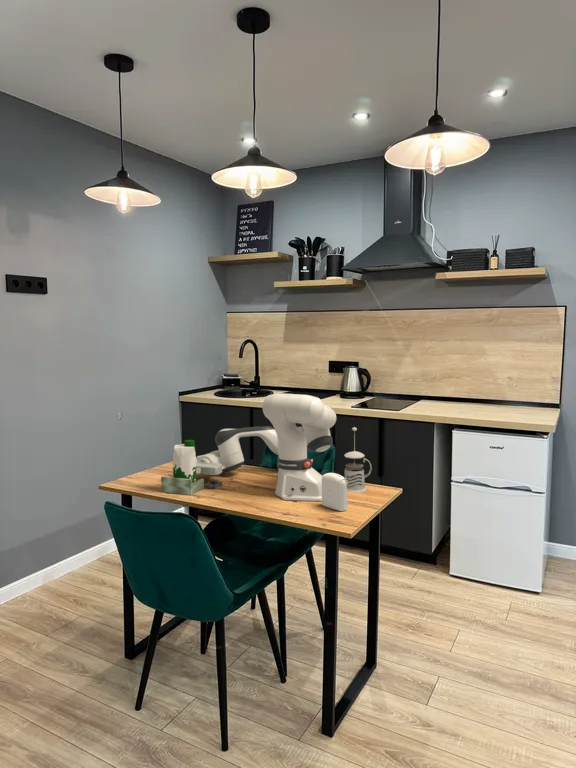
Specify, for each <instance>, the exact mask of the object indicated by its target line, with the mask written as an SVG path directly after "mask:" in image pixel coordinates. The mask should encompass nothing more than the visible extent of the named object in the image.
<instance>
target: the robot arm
mask: <svg viewBox="0 0 576 768" xmlns="http://www.w3.org/2000/svg"><path fill="white" fill-rule="evenodd" d="M261 407H262V412H263V415H264V417H265V418H266V419H268V420H269V421H270V423H271V425H272V426H273V427H272V426H268V425H265V426H264V425H263V426H252V427H242V428H241V427H240V428H223V429H220V430H219V431H217V433H216V434H215V436H214V440H215V444H216V446H217V448H218V449H217V450H213V451H211V452H209V453H205V454H202V455H196V475H201V476H204V477H206V476H219V475H221V474H222V473H223V472H224V473H229V472H233V471H235V470H237V469H239V468H241V467H243V465H244V463H245V458H244V454H243V451H242V448H241V444H240V438H245V437H259V438H261V440H263V441H264V443H265V444H266V445H267V446H268V448H269V450H270V451H271V452H273V453H274V454H275V455H278V457H277V465H276V466H277V473H278V474H277V482H276V483H277V484H276V487H275V491H274V494H275V496H277V497H280V499H282V500H284V501H306V502H308V501H309V502H322V477H323V474H321V473H320V472H318V471H317V470H316V469H315V468H313V467H312V466H313V460H314V459H313V458H312V459H310V458H309V457H308V450H311V451H312V452H315V453H322V452H326V451H328V450H329V449H330V448H331V447H332V445H333V436H331V430H330V429H331V428H332V427H334V425H335V424H336V422H337V415H336V412H335V410H334V409H333V408H332V407H330V406H329V405H327V404H326V403H323V401H322V400H321V399H320V398H319V397H318V396H313V395H309V394H299V393H298V394H297V393H296V394H294V393H282V392H281V393H279V392H278V393H274V394H273V393H272V394H269V395H267V396H266V397H265V398H264V399H263V402H262V406H261ZM296 424H299V425H301V426H297V425H296Z"/></svg>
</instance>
